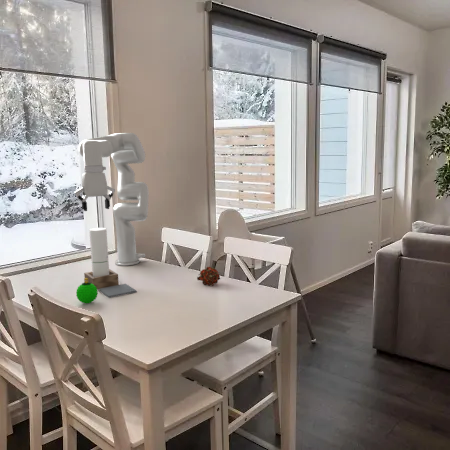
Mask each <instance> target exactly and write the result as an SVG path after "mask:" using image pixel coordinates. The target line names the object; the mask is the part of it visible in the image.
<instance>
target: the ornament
mask: <svg viewBox="0 0 450 450" xmlns="http://www.w3.org/2000/svg"><path fill="white" fill-rule="evenodd" d="M85 280H87V281H85ZM98 292H99V290H98V289H97V288H96V286H95V285H93V284H92V283H90V282H88V278H85V277H84V278H83V282H82V283H81V284H80V285H79V286H78V287H77V288H76V297H77V299H78V301H79V302H81V303H83V304H91V303H93V302H94V301H95V300H96V299H97V298H98Z"/></svg>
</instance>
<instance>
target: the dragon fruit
mask: <svg viewBox="0 0 450 450" xmlns="http://www.w3.org/2000/svg"><path fill="white" fill-rule="evenodd" d="M220 276H221V275H220V274H219V272H218V270H217V269H216V268H214V267H213V266H207V267H206V268H203V269H202V270H200V271H199V273H198V276H196V279H197V281H201V283H202V284H203V285H204V286H206V285H208V286H210V287H213V286H215V285H216V284H218V281H220V280H221V278H220Z"/></svg>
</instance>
